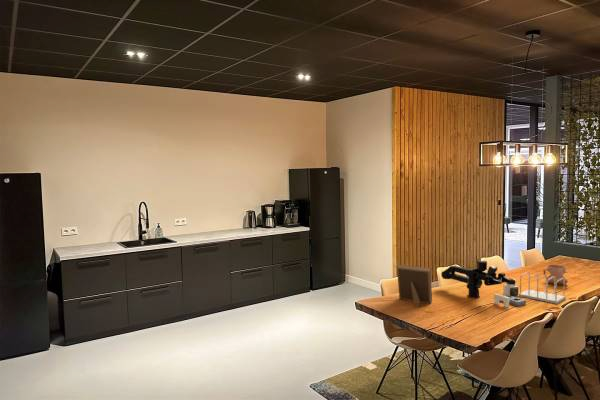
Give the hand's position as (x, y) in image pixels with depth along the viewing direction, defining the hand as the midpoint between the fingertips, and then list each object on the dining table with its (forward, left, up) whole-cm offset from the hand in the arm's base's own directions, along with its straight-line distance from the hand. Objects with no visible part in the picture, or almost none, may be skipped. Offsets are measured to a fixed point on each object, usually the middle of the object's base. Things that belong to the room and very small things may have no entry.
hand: (506, 281), depth 293 cm
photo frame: (-37, -46, -17) cm, 62 cm away
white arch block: (-3, 0, -17) cm, 17 cm away
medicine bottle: (-13, +25, -17) cm, 33 cm away
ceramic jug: (-14, +81, -17) cm, 84 cm away
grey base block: (-3, +11, -17) cm, 20 cm away
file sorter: (+1, +39, -17) cm, 42 cm away
